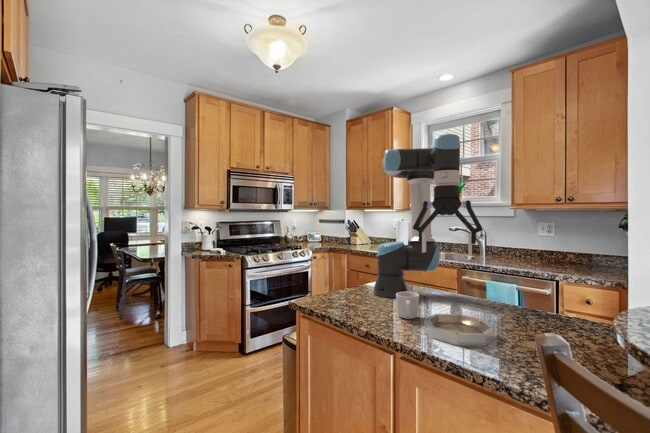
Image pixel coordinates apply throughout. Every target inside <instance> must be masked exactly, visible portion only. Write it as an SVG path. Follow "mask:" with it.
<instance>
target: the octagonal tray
mask: <svg viewBox="0 0 650 433" xmlns="http://www.w3.org/2000/svg"><path fill="white" fill-rule="evenodd" d="M423 329H424V331H426V333H427V334H428V335H429V337H430V338H431V339H434V340H436V341H440V342H444V343H448V344H451V345H454V346H459V347H463V346H464V347H465V346H467V347H486V346H487V345H489V344H490V343H491V342H493V341H495V339H496V327H494V326H493V325H492V324H490V323H488V322H487V321H486V320H485V319H482V318H479V317H472V316H469V315H465V314H460V313H435V314H432V315H431V316H428V317H426V318H424V319H423Z"/></svg>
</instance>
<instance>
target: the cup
mask: <svg viewBox="0 0 650 433" xmlns="http://www.w3.org/2000/svg"><path fill="white" fill-rule="evenodd" d="M395 299H396V300H395V301H396V310H397V315H398V316H399V317H400V318H402V319H406V320H412V319H415V318H417V316H418V314H419V313H418V312H419V303H420V294H419V293H417V292H414V291H413V292H412V291H408V292H398V293H396V298H395Z"/></svg>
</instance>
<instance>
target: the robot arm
mask: <svg viewBox="0 0 650 433" xmlns="http://www.w3.org/2000/svg"><path fill="white" fill-rule="evenodd" d="M433 141H434V142H433V147H428V148H427V147H426V148H392V149H390V148H389V149H386V150H385V151H384V155H383V156H384V157H383V159H382V161H381V166H380V167H381V170H382V172H383V173H384V174H385V175H387V176H389V177H392V178H396V179H407V180H406V181H407V182H406V183H407V184H408V185H409V186H410V212H411V213H410V215H411V218H410V219H411V220H410V221H411V222H410V224H411V228H410V230H411V238H409V240H408V242H407V244H405V243H404V241H389V242H384V243H383V242H382V243H381V244H379V245H378V246H377V254H376V256H377V277H376V280H375V283H374V285H373V294H374V295H375V296H377V297H381V298H391V299H392V298H393V299H396V293H398V292H409V290H408V286H407V283H406V281H405V275H404V274H405V272H424V273H425V272H434V271H436V270H437V268H438V266H439V263H440V256H441V255H440V254H441V252H440V246H439V245H437V244H436V240H435V239H434V238H433V237H432V222H433V221H434V220H435V219H436V217H438V216H439V215H440V216H446V215H447V216H453V215H455V216H456V217H457V218H458V220H459V221H461V223H463V225H464V226H465V227H466V228H467V229H468V231H470V232H468V235H467V236H468V242H467V243H468V247H467V248H468V253H467V254H468V256H472V255H473V245H475V244H476V242H477V233H479V232H482V231H483V229H484V228H483V226H482V225H481V223H480V221H479V219H478V217H477V215H476V214H475V211H474V210H473V208H472V202H471V200H463V201H461V199H460V197H461V192H460V191H461V188H460V186H459V184H460V183H461V182H460V179H461V178H460V176H461V170H460V169H461V165H460V164H461V147H462V146H461V139H460V136H459V135H458V134H453V133H447V134H445V133H444V134H439V135H437V136H436V137H434V140H433ZM432 183H433V184H434V185H435V186H434V187H433V201H431V184H432ZM461 206H463V208H464V209H466V210H467V212H468V214H469V216H470V218H471V219H472V222H473V223H474V226H475V227H474V226H473V225H472V224H471V223H470V222H469V221H468V220H467V218H466V217H465V216H464V215H463V214H462V213H461V211H459V209H460V207H461ZM432 207H433V209H434V211H432V210H431V208H432Z"/></svg>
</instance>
